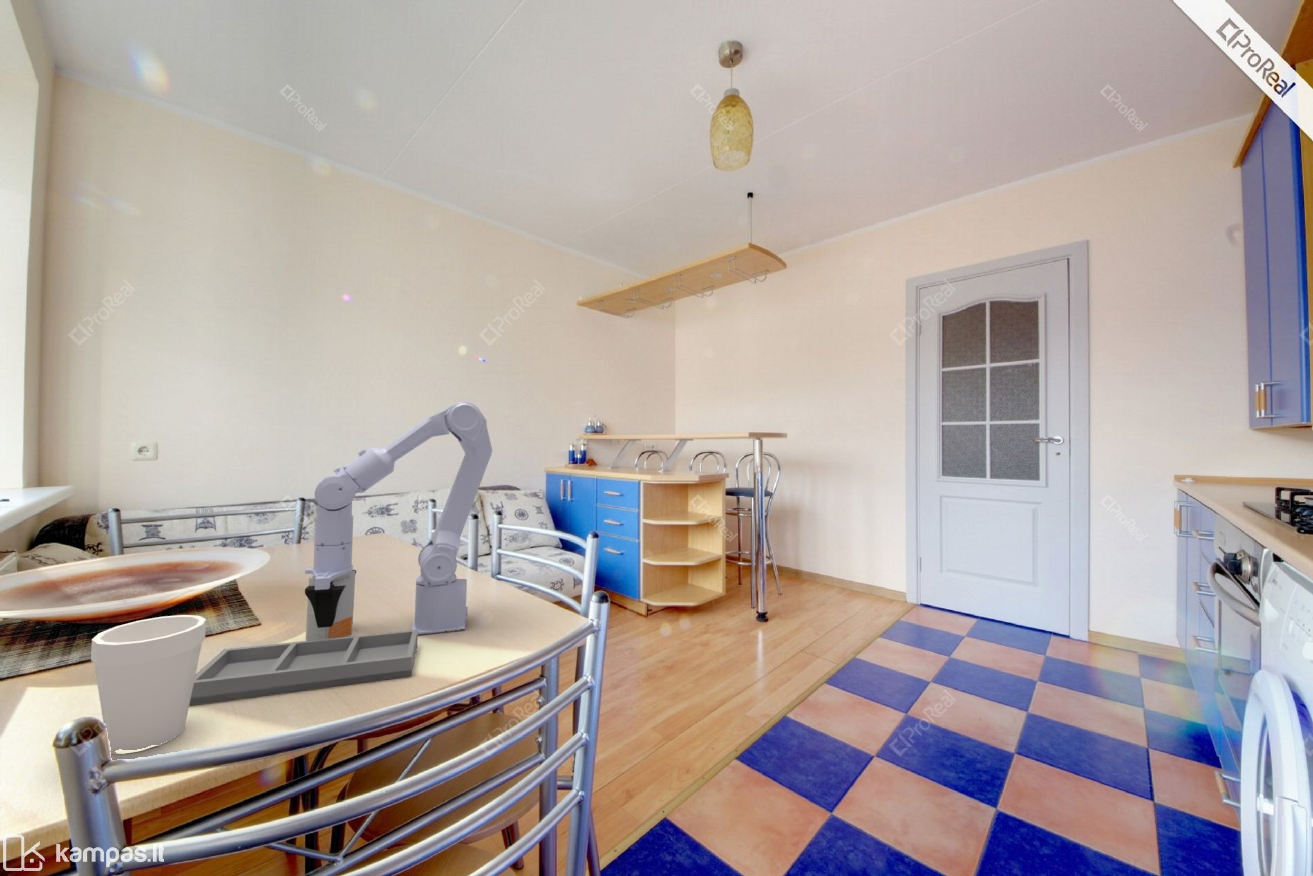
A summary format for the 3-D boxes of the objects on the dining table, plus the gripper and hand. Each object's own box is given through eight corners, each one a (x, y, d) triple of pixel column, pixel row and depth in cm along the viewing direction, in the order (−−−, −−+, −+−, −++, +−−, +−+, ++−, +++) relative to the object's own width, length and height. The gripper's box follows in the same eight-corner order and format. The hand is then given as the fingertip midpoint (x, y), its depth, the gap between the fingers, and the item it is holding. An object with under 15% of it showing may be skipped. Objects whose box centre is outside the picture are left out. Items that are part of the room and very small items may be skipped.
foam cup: (170, 710, 64) (175, 611, 65) (220, 724, 62) (224, 620, 62) (67, 753, 55) (71, 638, 55) (119, 771, 53) (124, 650, 53)
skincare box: (325, 649, 84) (328, 579, 84) (304, 646, 85) (307, 577, 85) (354, 635, 90) (356, 570, 90) (334, 633, 91) (336, 568, 91)
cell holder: (417, 646, 86) (417, 629, 86) (410, 676, 75) (411, 656, 75) (223, 668, 76) (224, 649, 76) (183, 706, 65) (184, 684, 65)
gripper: (318, 536, 93) (315, 608, 93) (293, 552, 79) (290, 636, 79) (361, 534, 96) (358, 604, 95) (344, 550, 82) (341, 631, 82)
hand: (330, 619), depth 87 cm, fingers closed on skincare box, 7 cm apart
